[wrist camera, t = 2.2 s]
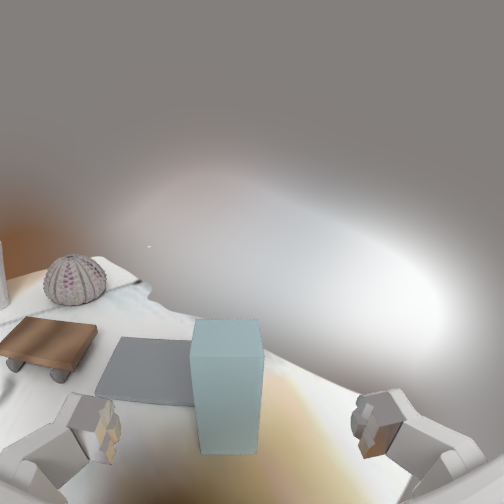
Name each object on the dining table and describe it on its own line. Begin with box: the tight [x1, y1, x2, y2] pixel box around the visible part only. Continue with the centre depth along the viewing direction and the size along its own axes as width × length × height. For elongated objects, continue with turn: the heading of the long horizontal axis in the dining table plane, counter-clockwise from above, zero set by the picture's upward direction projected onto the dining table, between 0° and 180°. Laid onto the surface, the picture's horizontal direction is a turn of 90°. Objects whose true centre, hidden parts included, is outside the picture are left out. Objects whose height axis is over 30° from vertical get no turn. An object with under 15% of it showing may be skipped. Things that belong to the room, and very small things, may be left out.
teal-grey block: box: [189, 319, 265, 455], centre depth 23 cm, size 5×5×12 cm
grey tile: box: [94, 337, 195, 406], centre depth 34 cm, size 12×12×1 cm
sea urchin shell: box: [43, 254, 107, 306], centre depth 50 cm, size 13×14×8 cm
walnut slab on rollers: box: [0, 316, 98, 384], centre depth 32 cm, size 13×10×3 cm
